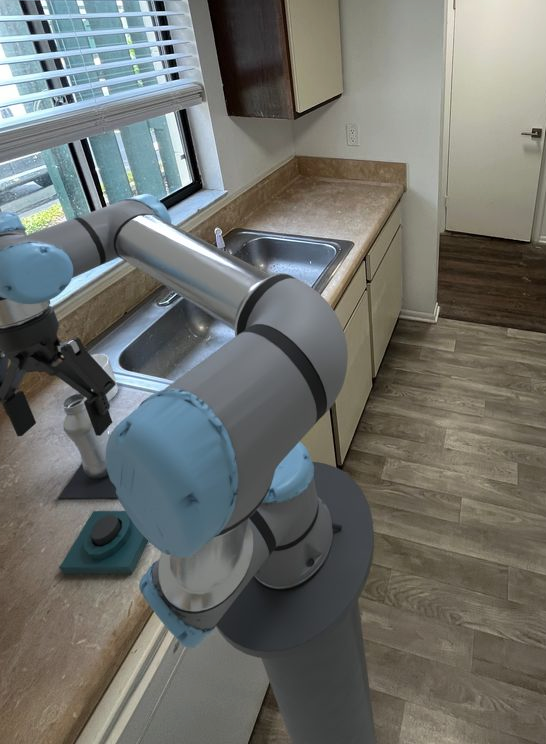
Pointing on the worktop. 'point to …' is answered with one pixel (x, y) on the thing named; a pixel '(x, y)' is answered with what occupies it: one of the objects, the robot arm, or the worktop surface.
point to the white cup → (106, 366)
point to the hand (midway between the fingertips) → (65, 429)
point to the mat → (88, 487)
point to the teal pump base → (105, 549)
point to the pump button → (105, 530)
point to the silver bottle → (85, 436)
